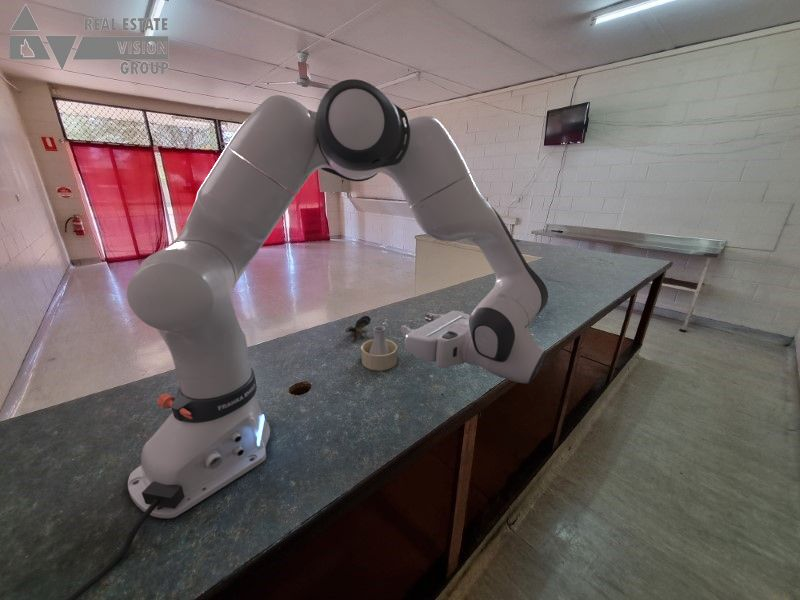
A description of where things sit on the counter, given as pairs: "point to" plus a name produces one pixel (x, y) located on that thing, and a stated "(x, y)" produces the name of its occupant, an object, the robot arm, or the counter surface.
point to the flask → (379, 342)
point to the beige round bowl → (379, 356)
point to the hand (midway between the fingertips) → (415, 322)
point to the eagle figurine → (359, 327)
